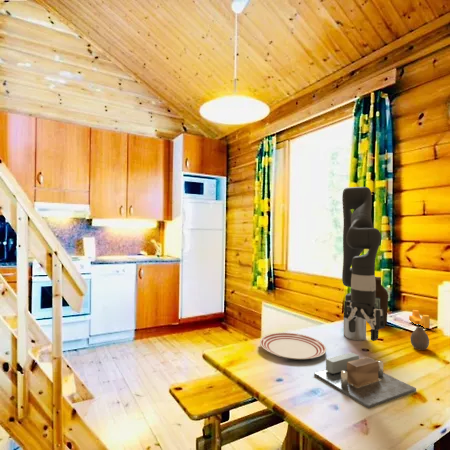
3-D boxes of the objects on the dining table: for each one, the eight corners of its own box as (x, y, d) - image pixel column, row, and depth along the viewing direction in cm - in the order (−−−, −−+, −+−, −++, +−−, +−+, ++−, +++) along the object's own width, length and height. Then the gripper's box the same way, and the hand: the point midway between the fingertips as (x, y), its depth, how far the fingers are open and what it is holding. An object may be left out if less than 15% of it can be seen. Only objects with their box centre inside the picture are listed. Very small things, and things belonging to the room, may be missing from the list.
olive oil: (373, 318, 179) (373, 275, 179) (391, 323, 170) (392, 277, 170) (363, 321, 173) (363, 276, 173) (381, 326, 164) (382, 279, 164)
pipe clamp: (409, 321, 174) (409, 309, 174) (417, 321, 174) (417, 310, 174) (420, 328, 162) (421, 315, 162) (429, 328, 162) (429, 316, 162)
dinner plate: (337, 350, 132) (337, 343, 132) (305, 372, 112) (305, 363, 112) (282, 335, 151) (282, 328, 151) (246, 351, 131) (246, 343, 131)
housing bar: (326, 370, 109) (326, 358, 109) (352, 363, 115) (352, 352, 115) (332, 373, 107) (332, 362, 107) (358, 366, 112) (358, 355, 112)
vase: (406, 345, 138) (406, 325, 138) (421, 345, 139) (421, 325, 139) (417, 351, 131) (417, 331, 131) (433, 351, 132) (433, 330, 132)
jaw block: (346, 380, 103) (347, 362, 103) (368, 374, 107) (368, 356, 107) (356, 385, 99) (356, 367, 99) (378, 379, 104) (378, 361, 104)
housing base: (314, 377, 108) (314, 359, 108) (358, 364, 118) (358, 349, 118) (368, 410, 88) (368, 389, 88) (416, 392, 98) (416, 373, 98)
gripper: (338, 284, 108) (338, 331, 108) (374, 292, 95) (373, 345, 95) (353, 282, 111) (353, 327, 111) (390, 290, 99) (389, 341, 99)
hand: (362, 336), depth 103 cm, fingers open, 8 cm apart
